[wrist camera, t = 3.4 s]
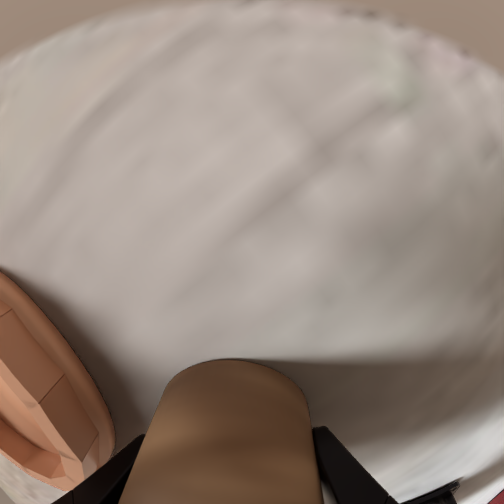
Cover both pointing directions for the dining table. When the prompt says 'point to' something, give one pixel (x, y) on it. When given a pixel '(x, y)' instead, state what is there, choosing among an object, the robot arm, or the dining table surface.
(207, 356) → the dining table surface
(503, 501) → the canister
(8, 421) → the dish
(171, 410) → the bead
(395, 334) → the dining table surface
